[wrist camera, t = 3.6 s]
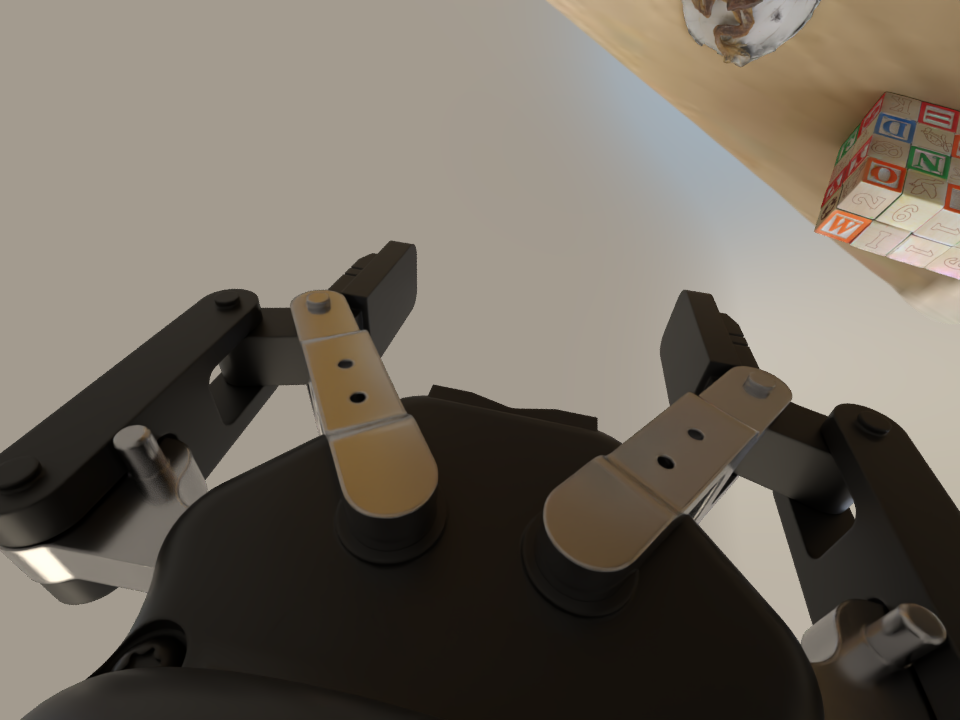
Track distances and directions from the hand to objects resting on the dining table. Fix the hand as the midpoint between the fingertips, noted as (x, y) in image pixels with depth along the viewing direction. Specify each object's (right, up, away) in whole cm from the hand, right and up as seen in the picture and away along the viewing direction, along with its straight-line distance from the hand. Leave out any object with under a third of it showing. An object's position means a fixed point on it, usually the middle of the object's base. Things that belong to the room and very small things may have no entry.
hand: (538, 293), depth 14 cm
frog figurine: (+22, +31, +25) cm, 45 cm away
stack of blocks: (+44, +17, +27) cm, 55 cm away
